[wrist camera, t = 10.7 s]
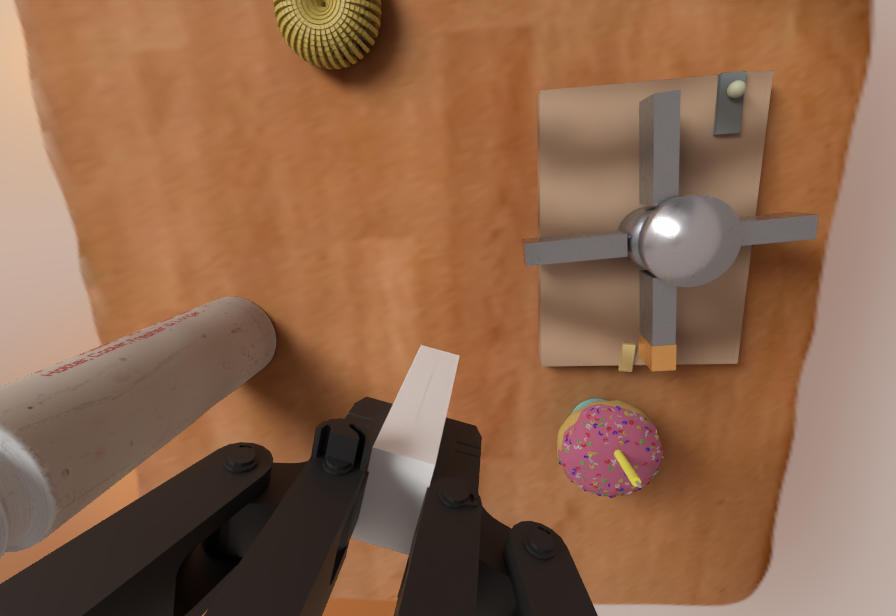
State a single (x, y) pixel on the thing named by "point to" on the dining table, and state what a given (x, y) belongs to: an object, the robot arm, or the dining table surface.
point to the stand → (617, 194)
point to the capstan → (669, 233)
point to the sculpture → (328, 29)
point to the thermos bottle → (117, 410)
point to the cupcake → (609, 447)
